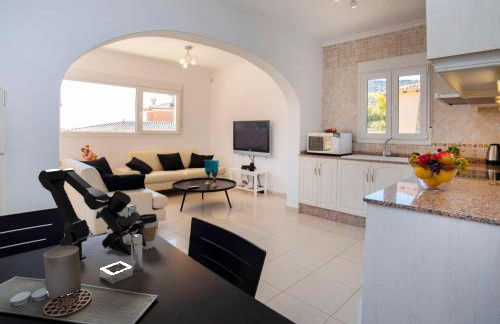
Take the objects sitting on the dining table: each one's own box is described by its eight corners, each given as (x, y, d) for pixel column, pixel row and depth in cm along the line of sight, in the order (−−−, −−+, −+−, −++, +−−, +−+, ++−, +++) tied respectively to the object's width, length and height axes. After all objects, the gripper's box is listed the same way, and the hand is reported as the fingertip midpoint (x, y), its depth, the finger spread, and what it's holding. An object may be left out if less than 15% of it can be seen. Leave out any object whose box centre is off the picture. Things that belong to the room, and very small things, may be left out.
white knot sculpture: (111, 253, 127) (110, 233, 126) (103, 245, 136) (102, 226, 135) (137, 246, 134) (137, 228, 134) (127, 239, 143) (127, 222, 143)
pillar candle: (74, 280, 102) (72, 239, 101) (85, 290, 96) (83, 246, 95) (41, 292, 95) (38, 247, 93) (51, 303, 89) (49, 255, 87)
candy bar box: (137, 236, 148) (136, 205, 146) (129, 239, 143) (128, 207, 142) (122, 232, 153) (121, 202, 152) (113, 235, 149) (113, 204, 147)
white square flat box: (100, 276, 105) (99, 268, 105) (120, 269, 112) (120, 261, 112) (112, 283, 101) (112, 275, 101) (133, 275, 107) (132, 266, 107)
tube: (129, 269, 112) (128, 236, 111) (138, 265, 115) (138, 233, 114) (135, 272, 110) (134, 238, 109) (144, 268, 113) (144, 235, 112)
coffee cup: (153, 250, 130) (153, 218, 129) (134, 250, 130) (134, 217, 129) (159, 243, 139) (159, 213, 137) (142, 243, 139) (141, 212, 138)
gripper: (107, 212, 103) (135, 246, 101) (140, 201, 121) (164, 230, 119) (90, 231, 106) (116, 265, 104) (125, 218, 124) (148, 246, 122)
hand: (138, 250), depth 112 cm, fingers open, 9 cm apart
